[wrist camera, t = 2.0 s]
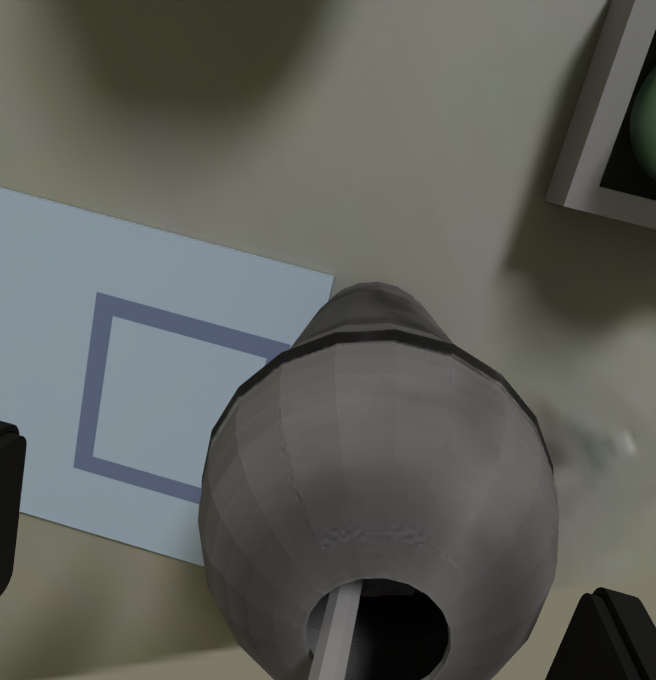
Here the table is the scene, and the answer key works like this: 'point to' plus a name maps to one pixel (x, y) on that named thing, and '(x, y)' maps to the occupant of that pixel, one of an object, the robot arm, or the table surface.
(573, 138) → the button housing
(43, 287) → the paper
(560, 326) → the table surface
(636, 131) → the button
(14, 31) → the table surface
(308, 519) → the beverage cup
